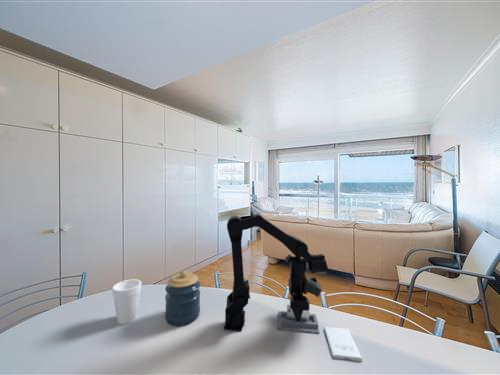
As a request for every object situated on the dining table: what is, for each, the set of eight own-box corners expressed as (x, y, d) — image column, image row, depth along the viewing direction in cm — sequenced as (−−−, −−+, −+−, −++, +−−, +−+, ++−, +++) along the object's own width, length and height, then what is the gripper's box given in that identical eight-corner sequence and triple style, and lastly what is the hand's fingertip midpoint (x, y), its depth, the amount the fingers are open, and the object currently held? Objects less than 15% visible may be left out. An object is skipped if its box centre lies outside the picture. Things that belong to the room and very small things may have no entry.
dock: (278, 329, 74) (278, 324, 74) (278, 312, 84) (278, 308, 84) (319, 333, 72) (319, 328, 72) (315, 315, 82) (315, 311, 82)
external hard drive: (348, 333, 73) (362, 363, 61) (324, 331, 74) (332, 359, 62) (348, 329, 73) (362, 357, 61) (324, 326, 74) (332, 354, 62)
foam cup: (106, 323, 77) (106, 287, 76) (129, 309, 85) (129, 277, 85) (124, 329, 73) (124, 293, 73) (146, 314, 82) (146, 281, 82)
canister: (157, 322, 77) (157, 274, 77) (180, 303, 90) (180, 262, 89) (186, 330, 73) (186, 280, 73) (206, 310, 85) (206, 267, 85)
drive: (287, 321, 77) (287, 308, 77) (286, 317, 80) (287, 304, 80) (309, 324, 76) (309, 310, 76) (308, 319, 79) (308, 306, 79)
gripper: (325, 286, 67) (325, 334, 68) (315, 265, 86) (315, 302, 86) (290, 284, 69) (290, 331, 69) (288, 263, 88) (288, 300, 88)
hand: (297, 314), depth 78 cm, fingers open, 7 cm apart
